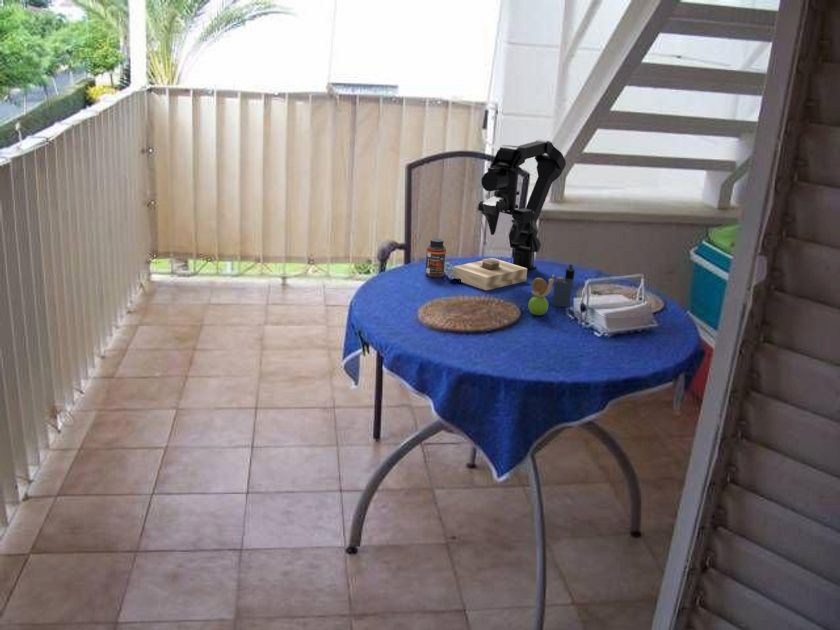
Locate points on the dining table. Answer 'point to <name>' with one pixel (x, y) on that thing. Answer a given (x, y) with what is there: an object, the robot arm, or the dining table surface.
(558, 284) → the vaping device
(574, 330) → the dining table surface
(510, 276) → the socket board
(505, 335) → the dining table surface
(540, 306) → the snail figurine
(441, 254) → the supplement bottle
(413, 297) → the dining table surface
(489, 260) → the peg
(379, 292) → the dining table surface
